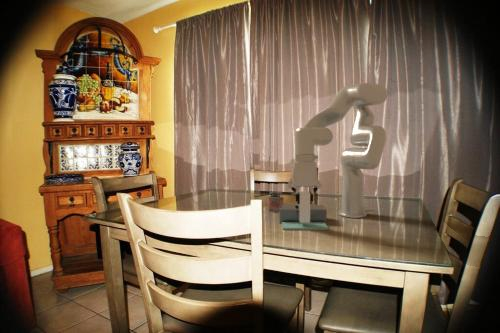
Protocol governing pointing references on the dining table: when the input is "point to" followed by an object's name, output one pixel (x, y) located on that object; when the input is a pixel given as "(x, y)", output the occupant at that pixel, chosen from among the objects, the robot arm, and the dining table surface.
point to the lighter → (275, 201)
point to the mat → (304, 226)
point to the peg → (304, 207)
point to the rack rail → (292, 213)
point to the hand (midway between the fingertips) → (304, 202)
